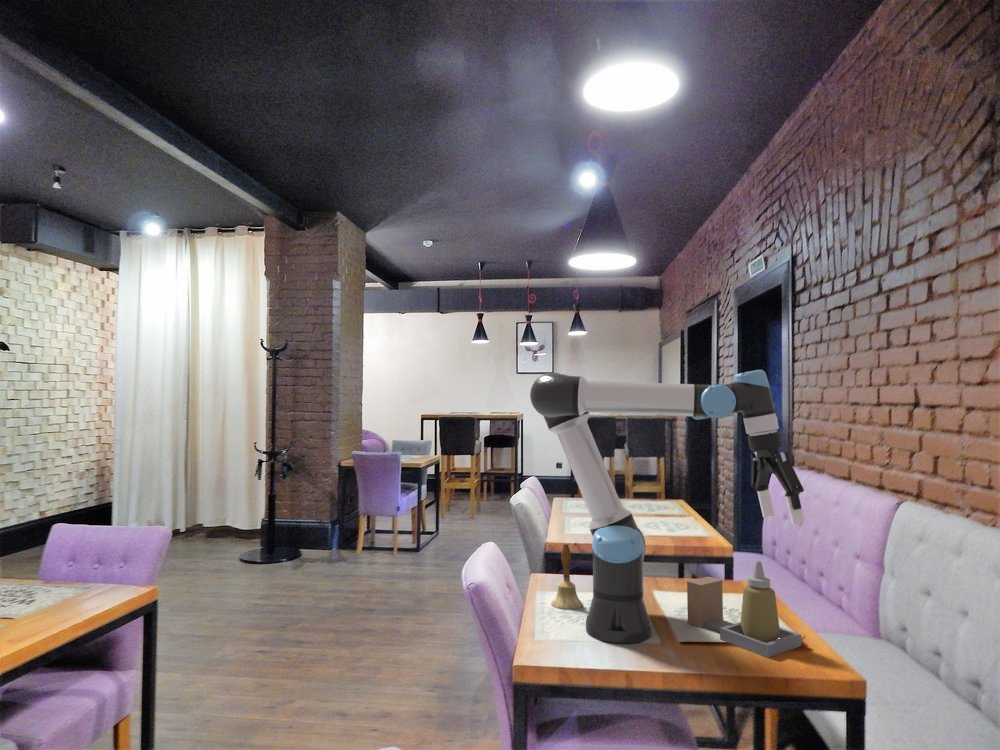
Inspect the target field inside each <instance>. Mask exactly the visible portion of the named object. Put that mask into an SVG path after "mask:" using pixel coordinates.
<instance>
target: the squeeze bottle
mask: <svg viewBox="0 0 1000 750" xmlns="http://www.w3.org/2000/svg"><path fill="white" fill-rule="evenodd" d="M762 563H763V562H762V561H760V560H756V561H755V563H754V569H753V573H752V575H748V576H747V585H746V586H745V587H743V594H742V603H741V605H742V606H741V614H740V622H741V627H742V630H743V633H744V635H745V636H748V637H751V638H754V639H756V640H759V641H762V642H765V643H768V642H771V641H774V640H777V637H778V634H779V631H780V628H779V627H780V620H779V613H778V606H777V605H778V604H777V597H776V592H775V590H774V589H773V588H771V579H770V578H769V577H766V576H765V572H764V567H763V564H762Z"/></svg>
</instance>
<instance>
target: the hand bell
mask: <svg viewBox="0 0 1000 750" xmlns="http://www.w3.org/2000/svg"><path fill="white" fill-rule="evenodd" d="M560 558H561V564H562V568H563V576H562V577H563V581H561V582H559V583H558V585H557V593H556V596H555V597H554V599H552V601H551V606H552V607H554V608H556V609H558V610H559V609H560V610H567V609H570V610H577V609H580V608H582V606H583V605H584V604H583V602H582V600H580V598H579V597H578V594H577V590H576V584H575V583H574V582H572V581H571V576H570V575H571V574H570V565H571V562H572V559H571V558H572V553H571V550H570V547H569V544H568V543H563V545H562V550H561V555H560Z"/></svg>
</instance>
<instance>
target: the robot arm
mask: <svg viewBox="0 0 1000 750" xmlns="http://www.w3.org/2000/svg"><path fill="white" fill-rule="evenodd" d="M733 379H734V380H733V382H730V383H726V384H718V383H716V384H715V383H714V384H693V383H663V382H662V383H660V382H635V381H634V382H633V381H607V380H605V381H604V380H603V381H602V380H587V379H586V378H584V376H580V375H579V376H577V375H568V374H564V373H559V372H554V371H553V372H546V373H544V374H542V375H540V376H539V377H538V378H536V379H535V380H534V382H533V384H532V385H531V388H530V392H529V397H530V402H531V405H532V407H533V408H534V410H535V411H536V412H537V413H538V414H540V415H541V416H543V419H544V421H545V423H546V426H547V428H548V430H549V431H550V432H552V433H554V434H556V435H557V438H558V440H559V443H560V444H561V447H562V450H563V452H564V454H565V457H566V459H567V462H568V465H569V467H570V470H571V471H572V474H573V477H574V479H575V481H576V484H577V486H578V489H579V492H580V493H581V496H582V499H583V501H584V503H585V507H586V508H587V511H588V513H589V516H590V518H591V522H590V525H589V527H588V528H589V531H590V533H591V536H592V542H591V549H592V599H591V603H590V607H589V610H588V615H587V616H586V618H585V631H586V633H587V634H588V635H589V636H591V637H593V638H595V639H597V640H600V641H603V642H608V643H616V644H635V643H640V642H644V641H646V640H648V639H649V638H650V637H651V636H652V622H651V620H650V618H649V614H648V611H647V607H646V604H645V600H644V559H645V554H646V550H647V549H646V548H647V547H646V546H647V545H646V540H645V539H646V538H645V536H644V534H643V532H642V531H641V530H640V528H639V527H638V526H637V523H636V520H635V518H634V516H633V513H632V511H630V510H629V509H626V508H625V507H623V506H622V502H621V501H620V498H619V495H618V493H617V490H616V489H615V486H614V484H613V481H612V478H611V477H610V474H609V472H608V470H607V466H606V465H605V462H604V459H603V457H602V455H601V452H600V451H599V448H598V446H597V443H596V441H595V438H594V435H593V433H592V431H591V429H590V427H589V424H588V420H589V417H590V413H606V414H607V413H608V414H631V415H632V414H633V415H634V414H635V415H650V416H651V415H652V416H654V415H656V416H676V417H677V416H678V417H691V418H692V419H694V420H707V419H709V418H710V419H711V418H713V419H723V418H727V417H728V416H729V415H731V414H732V415H733V414H737V413H742V417H743V419H742V420H743V424H744V425H743V426H744V428H745V432H746V434H747V435H748V437H747V442H748V445H749V449H750V451H751V452H750V453H749V455H750V464H751V465H750V467H751V469H750V473H751V475H750V486H751V488H753V489H755V492H756V493H757V496H758V501H759V505H760V509H761V510H760V511H761V514H762V518H768V517H773V516H775V511H774V507H773V502H772V498H771V493H770V490H769V489H770V487H769V486H768V484H769V483H768V482H769V477H770V473H771V474H773V475H775V477H776V478H777V480H778V482H779V483H780V485H781V487H782V488H783V489H784V491H785V495H784V496H785V500H786V503H787V508H788V512H789V515H790V517H789V518H790V520H791V521H790V522H791V524H792V525H798V524H803V523H806V520H805V517H804V516H805V515H804V513H803V508H802V504H801V499H800V494H801V493H803V492H804V491H805V490H804V487H803V485H802V482H801V480H800V479H799V477H798V475H797V473H796V471H795V469H794V466H793V464H792V463H791V461H790V458H789V457H790V456H789V453H788V452H787V451H781V452H780V451H779V448H781V447H783V445H784V443H783V438H782V433H781V432H780V431H779V430H778V429H780V427H779V423H778V422H779V421H778V416H777V414H776V409H775V405H774V404H775V403H774V399H773V395H772V391H771V386H770V384H769V380H768V376H767V373H766V371H764V370H763V369H755V370H750V371H745V372H741V373H737V374H735V375H734V378H733Z"/></svg>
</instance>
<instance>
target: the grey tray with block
mask: <svg viewBox="0 0 1000 750" xmlns="http://www.w3.org/2000/svg"><path fill="white" fill-rule="evenodd" d="M686 591H687V592H686V593H687V594H686V596H687V605H686V607H687V624H689V625H692V626H695V627H697V628H699V629H703V628H707V629H710V630H713V631H715V632H718V633H719V639H720V640H721V639H722V640H721V641H723V640H724V641H723V642H727V643H728V644H731V645H734V646H736V647H739V648H741V649H745V650H747V651H749V652H752V653H754V654H756V655H760V656H761V657H764V658H768V659H770V658H772V657H774V656H777V655H781V654H783V653H786V652H788V651H793V650H795V649H797V648H800V647H802V634H801V633H798V632H794V631H793V630H789V629H786V628H783V627H780V626H779V628H780V631H779V634H778V637H777V638H780V639H777V640H774V641H771V642H768V643H765V642H762V641H759V640H756V639H754V638H751V637H748V636H745V635H743V634H744V633H743V630H742V627H741V621H740V622H736V623H732V622H730V621H727V620H724V602H723V600H724V599H723V598H724V596H723V595H724V594H723V579H719V578H716V577H712V576H704V577H700V578H699V577H698V578H695V579H692V580H687V581H686Z"/></svg>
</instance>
